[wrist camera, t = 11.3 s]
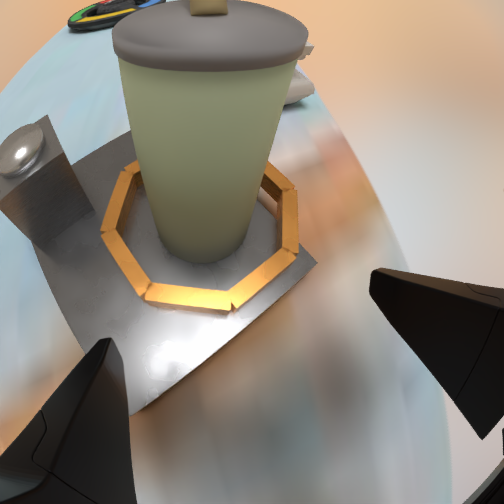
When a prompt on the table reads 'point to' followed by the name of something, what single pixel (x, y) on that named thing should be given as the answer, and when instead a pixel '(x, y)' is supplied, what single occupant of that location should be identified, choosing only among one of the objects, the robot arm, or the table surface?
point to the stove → (141, 258)
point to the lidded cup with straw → (205, 113)
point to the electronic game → (107, 13)
